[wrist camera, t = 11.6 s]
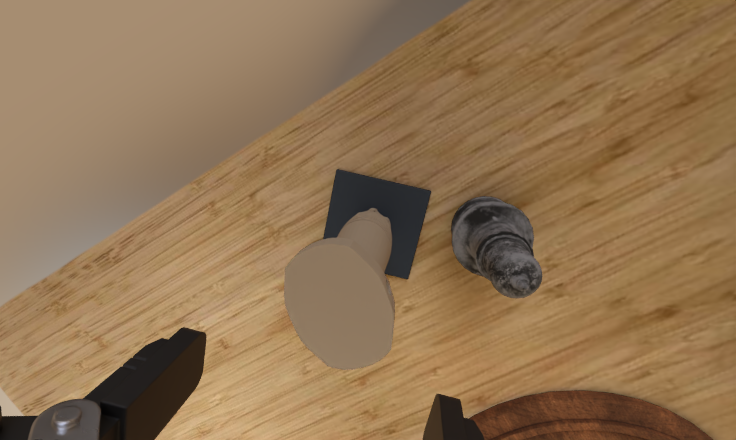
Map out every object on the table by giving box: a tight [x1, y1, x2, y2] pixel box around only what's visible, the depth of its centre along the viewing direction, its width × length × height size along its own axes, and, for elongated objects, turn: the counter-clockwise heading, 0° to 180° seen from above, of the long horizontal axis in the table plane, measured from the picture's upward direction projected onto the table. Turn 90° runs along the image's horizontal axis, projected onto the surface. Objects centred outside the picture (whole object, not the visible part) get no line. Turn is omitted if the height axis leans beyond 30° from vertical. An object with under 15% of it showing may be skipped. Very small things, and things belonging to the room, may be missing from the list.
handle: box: [284, 208, 395, 370], centre depth 25 cm, size 5×6×15 cm
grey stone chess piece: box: [451, 196, 542, 298], centre depth 25 cm, size 6×6×12 cm
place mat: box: [323, 169, 431, 279], centre depth 32 cm, size 8×8×1 cm
